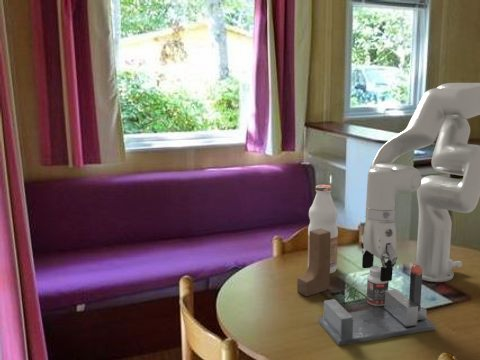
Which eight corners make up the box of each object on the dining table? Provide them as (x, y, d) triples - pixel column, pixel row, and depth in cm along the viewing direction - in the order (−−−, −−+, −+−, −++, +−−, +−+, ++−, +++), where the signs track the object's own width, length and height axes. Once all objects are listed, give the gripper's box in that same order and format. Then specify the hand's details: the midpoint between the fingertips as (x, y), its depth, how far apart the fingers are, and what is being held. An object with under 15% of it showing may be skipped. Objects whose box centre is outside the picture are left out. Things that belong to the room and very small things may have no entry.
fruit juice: (307, 274, 156) (307, 189, 150) (308, 263, 165) (309, 182, 159) (337, 275, 154) (338, 189, 148) (336, 264, 163) (338, 183, 157)
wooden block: (306, 297, 140) (307, 237, 136) (296, 291, 144) (296, 233, 140) (330, 289, 145) (331, 231, 141) (319, 284, 148) (320, 227, 144)
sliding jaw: (408, 304, 131) (410, 257, 128) (431, 322, 121) (434, 271, 119) (384, 308, 129) (386, 260, 126) (406, 326, 120) (409, 275, 117)
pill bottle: (376, 308, 132) (377, 274, 130) (362, 300, 137) (363, 267, 135) (392, 303, 135) (393, 270, 133) (377, 295, 140) (378, 263, 138)
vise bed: (407, 307, 132) (408, 286, 131) (435, 329, 121) (436, 306, 120) (318, 321, 126) (318, 299, 125) (338, 345, 115) (339, 321, 113)
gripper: (411, 221, 123) (406, 285, 126) (376, 205, 140) (372, 262, 143) (384, 223, 121) (380, 288, 125) (352, 206, 138) (349, 264, 141)
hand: (376, 274), depth 134 cm, fingers open, 9 cm apart
